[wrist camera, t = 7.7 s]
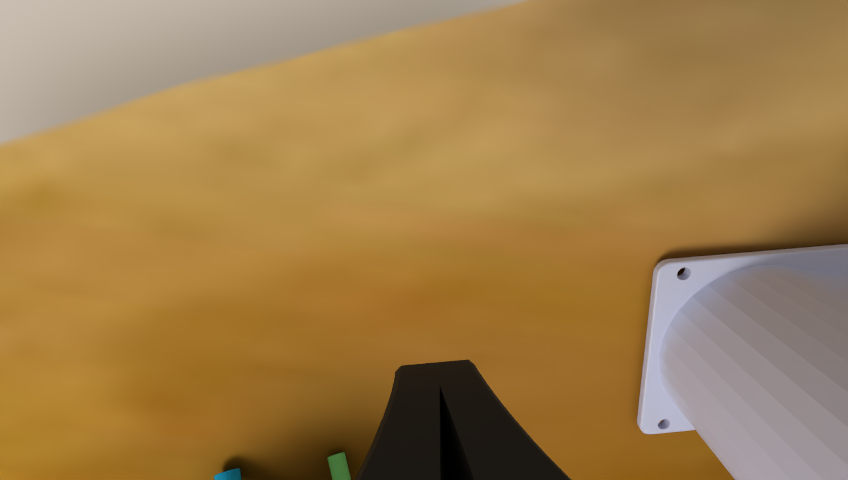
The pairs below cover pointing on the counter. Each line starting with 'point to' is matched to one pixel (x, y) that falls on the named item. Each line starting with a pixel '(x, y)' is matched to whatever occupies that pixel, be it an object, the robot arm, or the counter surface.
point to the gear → (336, 462)
